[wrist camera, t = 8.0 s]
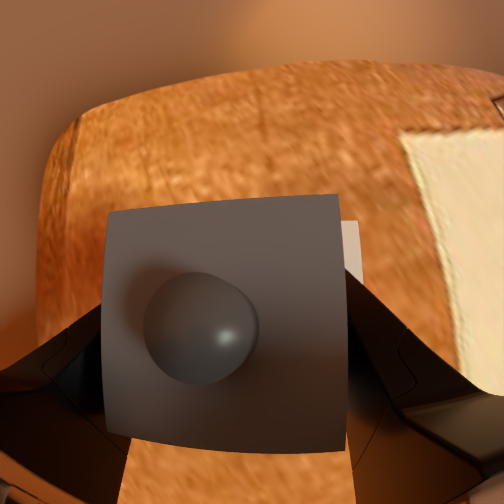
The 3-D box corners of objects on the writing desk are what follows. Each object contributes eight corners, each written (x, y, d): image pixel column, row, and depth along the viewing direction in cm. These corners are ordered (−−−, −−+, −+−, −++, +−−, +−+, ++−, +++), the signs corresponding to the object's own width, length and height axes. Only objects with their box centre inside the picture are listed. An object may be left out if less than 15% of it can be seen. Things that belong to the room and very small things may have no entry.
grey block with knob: (331, 386, 14) (393, 501, 4) (202, 386, 15) (59, 464, 4) (328, 257, 16) (380, 132, 5) (202, 262, 16) (64, 168, 6)
